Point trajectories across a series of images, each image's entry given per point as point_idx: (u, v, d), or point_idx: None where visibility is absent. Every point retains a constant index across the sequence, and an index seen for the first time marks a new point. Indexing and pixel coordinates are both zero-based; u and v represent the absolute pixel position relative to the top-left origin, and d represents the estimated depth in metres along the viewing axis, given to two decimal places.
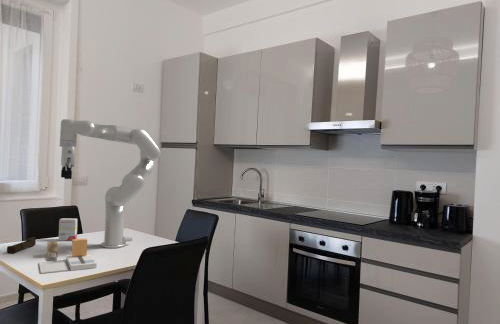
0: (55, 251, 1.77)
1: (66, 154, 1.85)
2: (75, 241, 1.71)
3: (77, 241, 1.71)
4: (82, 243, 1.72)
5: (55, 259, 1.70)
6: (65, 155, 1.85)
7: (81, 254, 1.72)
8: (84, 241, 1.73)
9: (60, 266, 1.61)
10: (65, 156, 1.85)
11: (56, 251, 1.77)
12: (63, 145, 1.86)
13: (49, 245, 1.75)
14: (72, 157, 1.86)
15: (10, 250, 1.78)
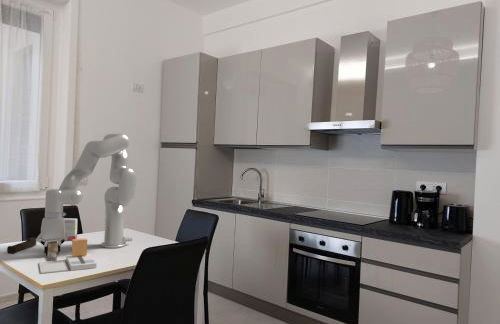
0: (55, 251, 1.77)
1: (64, 226, 1.80)
2: (75, 241, 1.71)
3: (77, 241, 1.71)
4: (82, 243, 1.72)
5: (55, 259, 1.70)
6: (64, 227, 1.80)
7: (81, 254, 1.72)
8: (84, 241, 1.73)
9: (60, 266, 1.61)
10: (64, 228, 1.80)
11: (56, 251, 1.77)
12: (60, 217, 1.78)
13: (49, 245, 1.75)
14: None
15: (10, 250, 1.78)
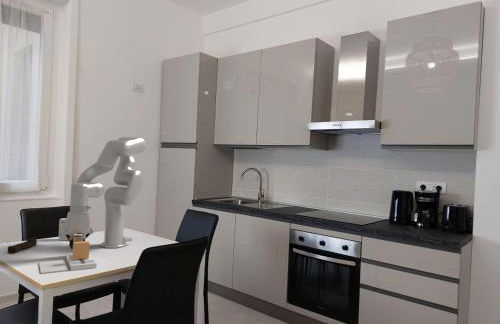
0: None
1: (89, 220, 1.80)
2: (77, 244, 1.66)
3: (79, 244, 1.66)
4: (84, 246, 1.67)
5: None
6: (89, 221, 1.79)
7: (83, 257, 1.67)
8: (86, 244, 1.68)
9: (60, 266, 1.61)
10: (89, 222, 1.80)
11: None
12: (85, 211, 1.78)
13: (74, 238, 1.75)
14: None
15: (11, 250, 1.78)
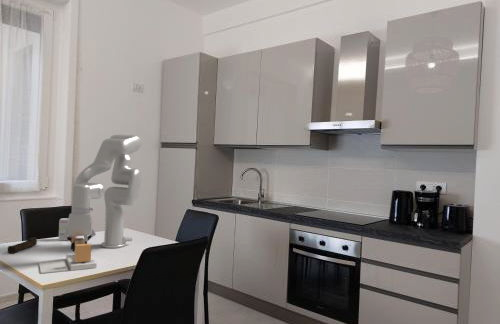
0: None
1: (91, 222, 1.76)
2: (78, 246, 1.62)
3: (80, 246, 1.62)
4: (86, 249, 1.63)
5: None
6: (91, 223, 1.75)
7: (85, 260, 1.63)
8: (88, 247, 1.64)
9: (60, 266, 1.61)
10: (91, 224, 1.75)
11: None
12: (87, 213, 1.73)
13: (76, 242, 1.71)
14: None
15: (11, 250, 1.78)
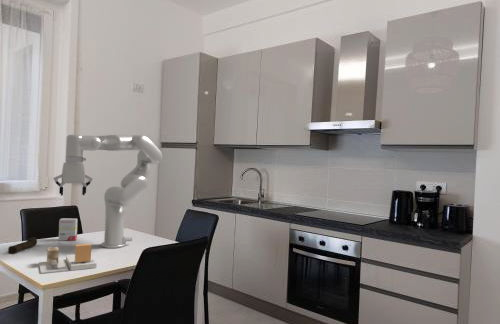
0: (55, 258, 1.64)
1: (84, 171, 1.86)
2: (78, 246, 1.61)
3: (80, 246, 1.62)
4: (86, 249, 1.63)
5: (56, 267, 1.57)
6: (84, 172, 1.85)
7: (85, 260, 1.63)
8: (88, 247, 1.63)
9: (60, 266, 1.61)
10: (84, 173, 1.85)
11: (57, 258, 1.64)
12: (81, 162, 1.84)
13: (49, 251, 1.63)
14: None
15: (12, 250, 1.78)
